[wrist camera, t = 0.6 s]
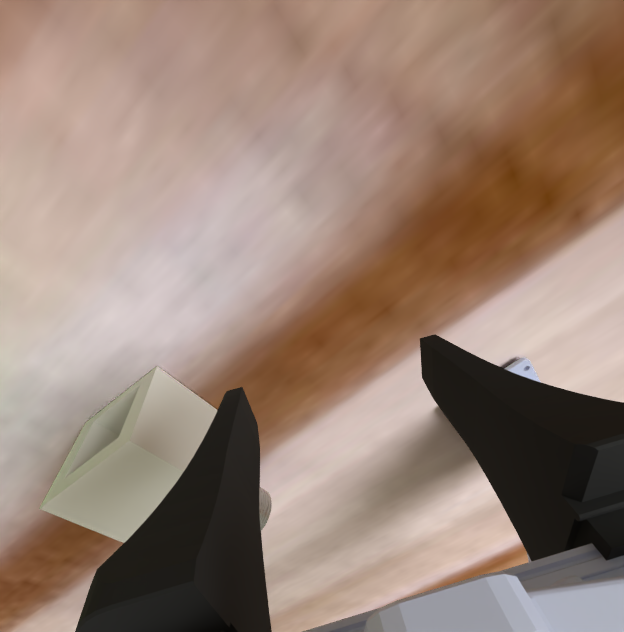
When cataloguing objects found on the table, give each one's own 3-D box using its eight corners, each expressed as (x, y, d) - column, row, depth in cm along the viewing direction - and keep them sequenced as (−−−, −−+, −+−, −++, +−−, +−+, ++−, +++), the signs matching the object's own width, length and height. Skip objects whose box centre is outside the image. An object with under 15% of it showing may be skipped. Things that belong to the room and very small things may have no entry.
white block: (239, 426, 27) (238, 503, 21) (174, 472, 28) (157, 556, 22) (157, 366, 23) (129, 440, 17) (85, 422, 24) (39, 508, 19)
